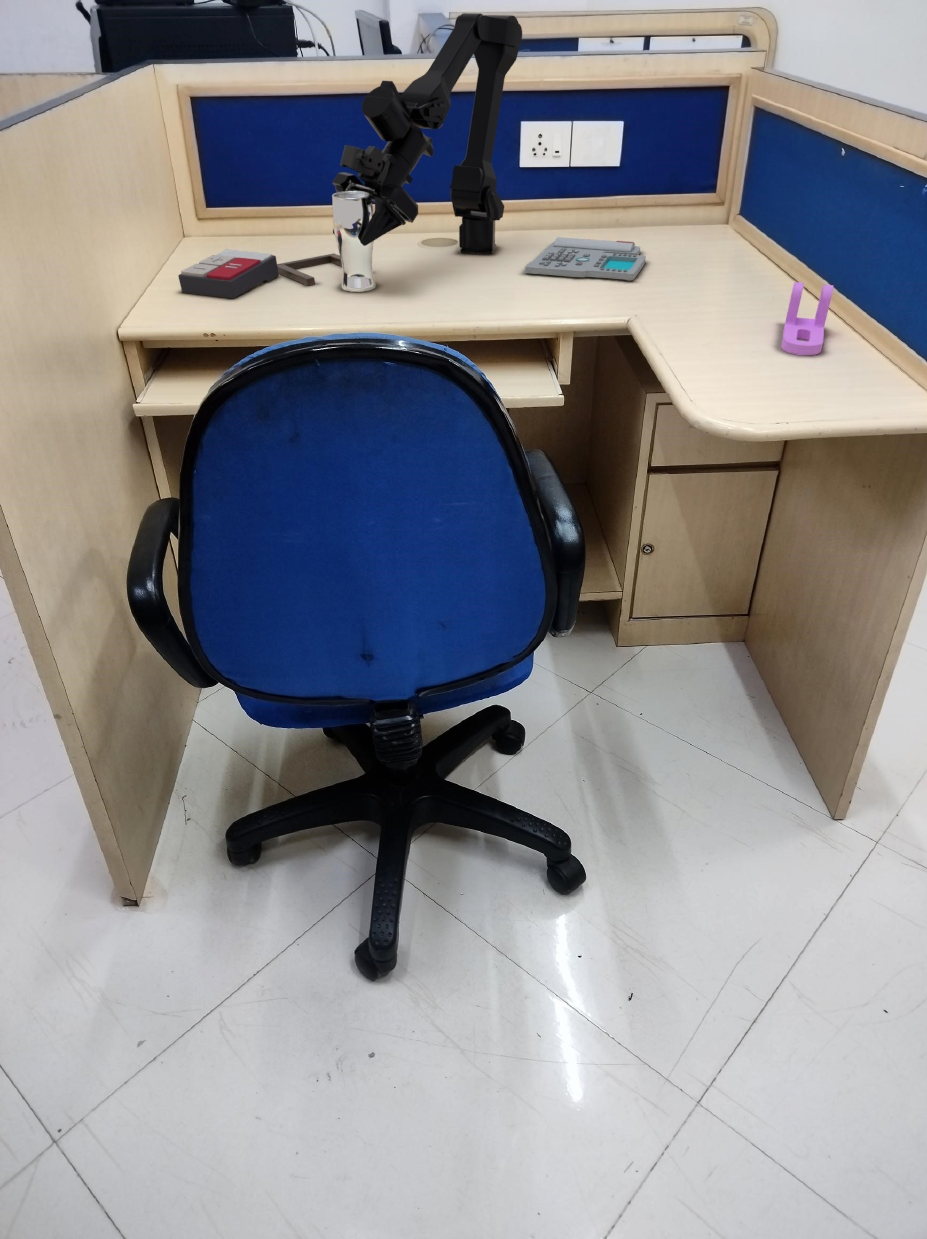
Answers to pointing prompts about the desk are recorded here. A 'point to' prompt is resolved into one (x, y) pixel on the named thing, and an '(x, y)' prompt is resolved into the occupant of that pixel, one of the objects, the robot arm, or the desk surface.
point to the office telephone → (589, 259)
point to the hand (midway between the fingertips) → (348, 239)
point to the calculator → (228, 273)
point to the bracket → (805, 323)
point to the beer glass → (354, 239)
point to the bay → (289, 267)
